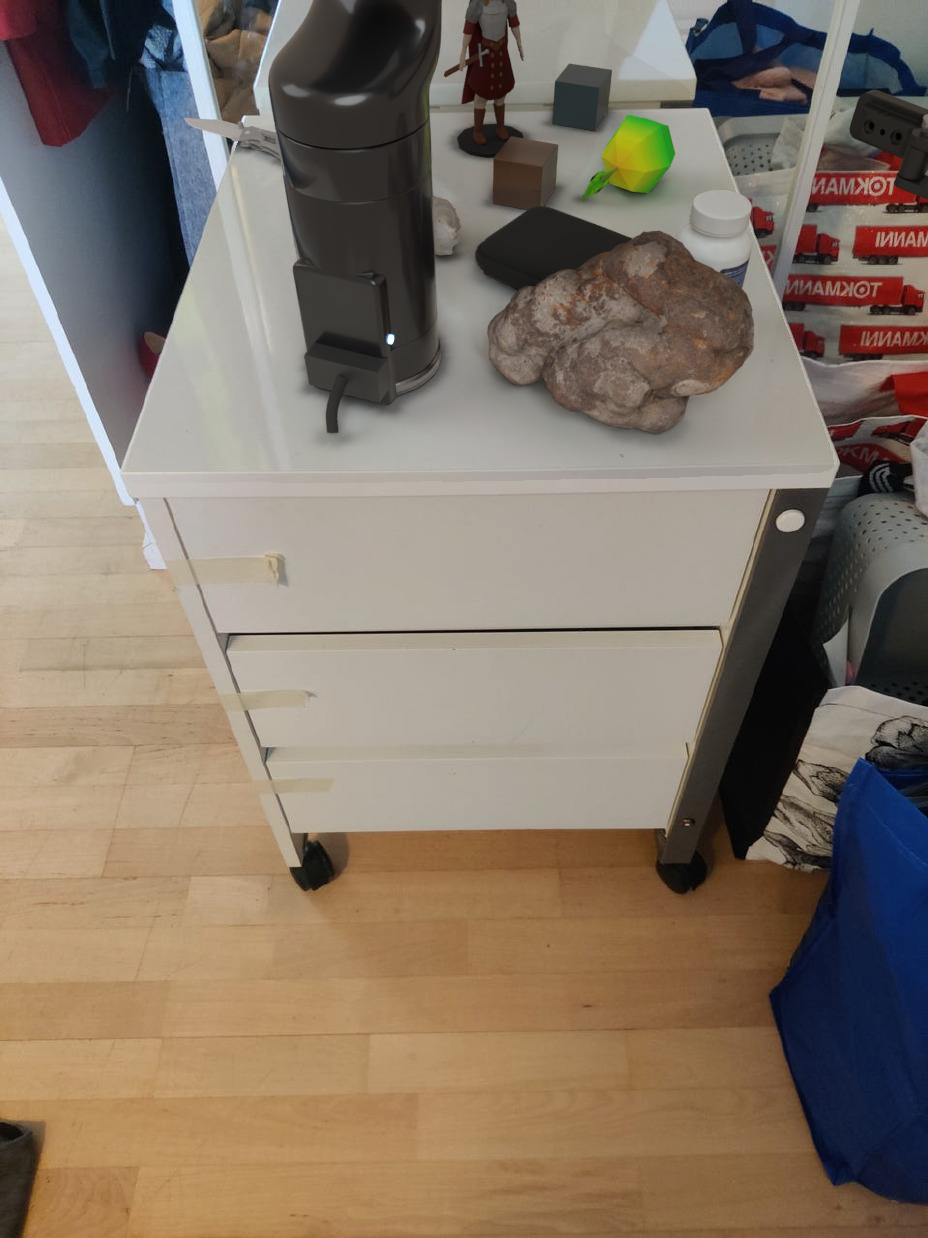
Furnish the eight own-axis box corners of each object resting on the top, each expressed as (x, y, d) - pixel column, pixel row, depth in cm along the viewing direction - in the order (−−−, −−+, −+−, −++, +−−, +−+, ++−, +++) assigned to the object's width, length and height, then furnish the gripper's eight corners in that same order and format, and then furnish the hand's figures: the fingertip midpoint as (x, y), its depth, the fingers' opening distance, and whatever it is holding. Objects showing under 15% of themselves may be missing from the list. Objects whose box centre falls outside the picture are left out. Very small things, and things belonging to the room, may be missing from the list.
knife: (176, 133, 90) (196, 119, 92) (314, 176, 84) (333, 160, 86) (171, 117, 89) (191, 103, 90) (311, 160, 83) (330, 144, 84)
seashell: (443, 272, 74) (430, 223, 71) (342, 207, 83) (327, 161, 79) (482, 246, 75) (472, 196, 71) (379, 184, 84) (365, 138, 80)
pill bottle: (727, 309, 70) (758, 185, 62) (733, 350, 67) (767, 225, 59) (658, 305, 71) (680, 182, 63) (660, 346, 67) (684, 221, 60)
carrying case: (455, 281, 73) (608, 348, 67) (455, 246, 71) (613, 312, 65) (533, 227, 78) (681, 285, 72) (534, 192, 76) (688, 250, 70)
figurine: (471, 162, 85) (470, -24, 74) (444, 130, 90) (440, -50, 78) (535, 149, 87) (545, -35, 75) (506, 119, 91) (511, -60, 79)
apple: (664, 86, 78) (607, 121, 74) (703, 151, 79) (649, 189, 75) (611, 135, 84) (556, 170, 80) (648, 195, 86) (595, 233, 81)
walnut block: (539, 212, 80) (542, 166, 76) (492, 203, 81) (492, 157, 78) (555, 188, 82) (558, 143, 79) (509, 180, 83) (510, 135, 80)
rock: (573, 376, 72) (519, 469, 68) (499, 250, 64) (434, 346, 60) (795, 349, 59) (743, 461, 55) (736, 189, 52) (671, 305, 48)
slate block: (595, 130, 89) (599, 87, 86) (552, 123, 90) (554, 80, 87) (607, 112, 92) (612, 69, 89) (565, 105, 93) (568, 62, 90)
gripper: (1348, 70, 40) (1013, -24, 48) (1194, 169, 35) (845, 44, 43) (1237, 232, 46) (955, 124, 54) (1090, 337, 40) (801, 200, 49)
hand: (907, 89), depth 48 cm, fingers open, 8 cm apart
